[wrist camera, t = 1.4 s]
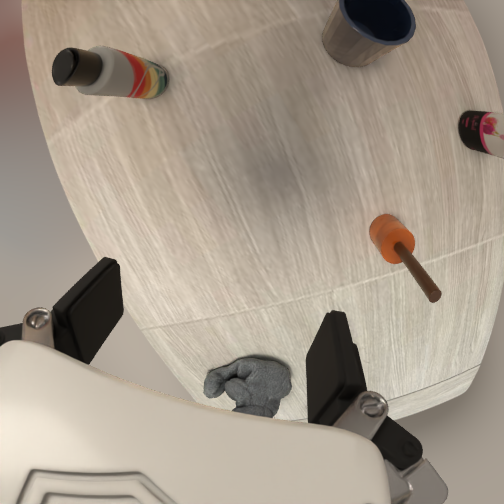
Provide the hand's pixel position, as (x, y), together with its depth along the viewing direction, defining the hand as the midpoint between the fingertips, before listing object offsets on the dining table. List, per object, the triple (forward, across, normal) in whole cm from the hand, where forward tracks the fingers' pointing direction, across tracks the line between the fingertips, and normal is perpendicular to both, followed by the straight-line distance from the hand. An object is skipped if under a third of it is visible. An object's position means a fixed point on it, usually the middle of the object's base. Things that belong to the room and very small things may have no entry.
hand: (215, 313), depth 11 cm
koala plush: (+30, -7, +42) cm, 53 cm away
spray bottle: (+30, +19, -12) cm, 37 cm away
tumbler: (+30, -8, -23) cm, 39 cm away
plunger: (+30, -20, +3) cm, 36 cm away
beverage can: (+30, -31, -18) cm, 47 cm away
